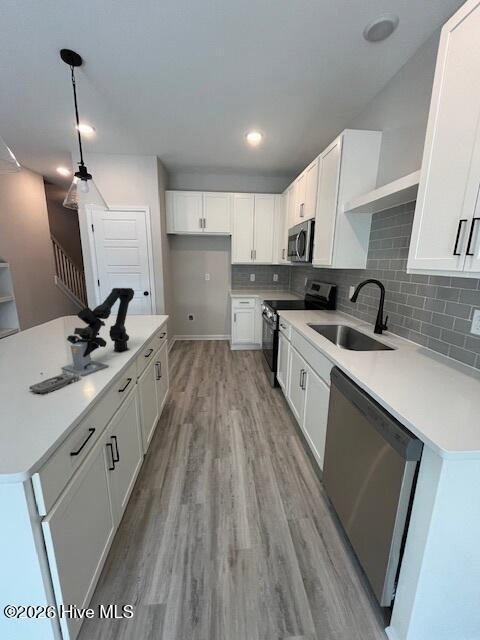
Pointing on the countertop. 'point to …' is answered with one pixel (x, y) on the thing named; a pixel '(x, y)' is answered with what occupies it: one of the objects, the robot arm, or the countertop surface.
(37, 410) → the countertop surface
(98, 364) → the grey mounting plate
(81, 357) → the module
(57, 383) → the graphics card
